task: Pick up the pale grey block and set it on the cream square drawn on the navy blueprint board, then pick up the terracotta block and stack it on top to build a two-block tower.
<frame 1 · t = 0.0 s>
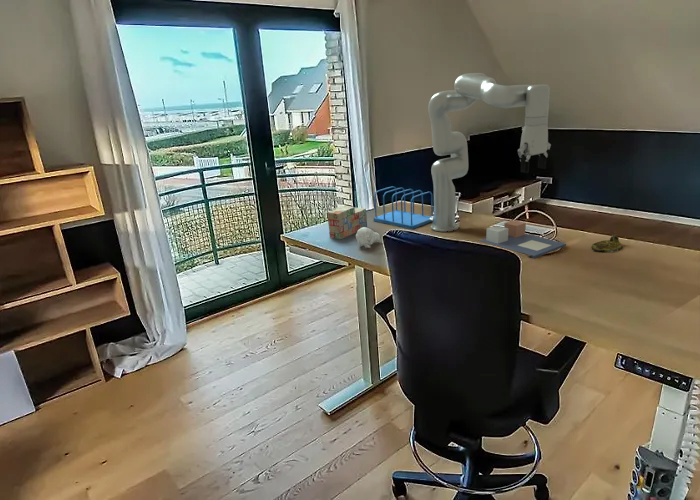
hand: (533, 170, 171), 31 cm above the table, tool pointing down, fingers open, 9 cm apart
blueprint board: (521, 244, 189), on the table
seal: (606, 248, 180), on the table
stack of blocks: (349, 233, 221), on the table
top block: (514, 234, 198), point 1 cm above the table, touching blueprint board
file sorter: (403, 221, 233), on the table
base block: (497, 240, 193), point 1 cm above the table, touching blueprint board
white animal figurine: (369, 245, 201), on the table
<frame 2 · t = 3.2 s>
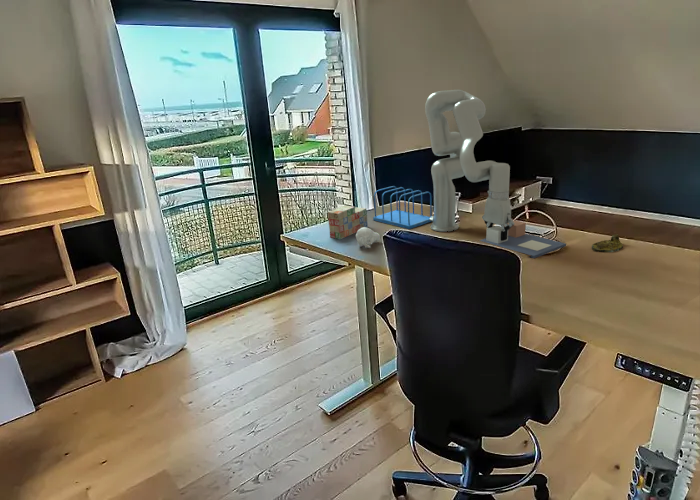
hand: (497, 237, 192), 2 cm above the table, tool pointing down, fingers closed on base block, 6 cm apart
base block: (497, 240, 193), point 1 cm above the table, touching blueprint board, gripper
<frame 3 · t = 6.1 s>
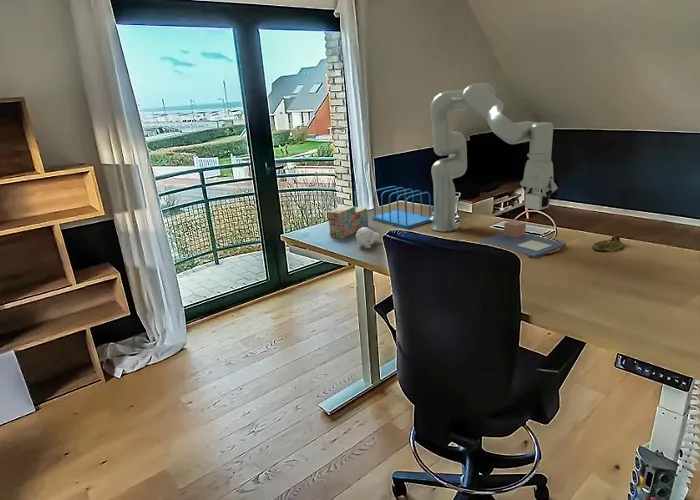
hand: (537, 204, 179), 17 cm above the table, tool pointing down, fingers closed on base block, 6 cm apart
base block: (536, 207, 179), point 16 cm above the table, touching gripper
when the fingers open (4 cm above the table, at t = 9.0 s): base block drops 1 cm, resting on blueprint board.
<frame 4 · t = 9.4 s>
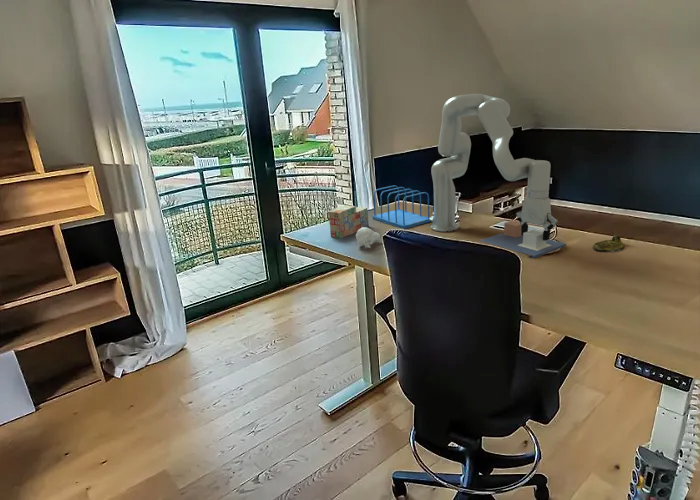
hand: (534, 237, 183), 4 cm above the table, tool pointing down, fingers open, 9 cm apart
base block: (534, 245, 184), point 1 cm above the table, touching blueprint board
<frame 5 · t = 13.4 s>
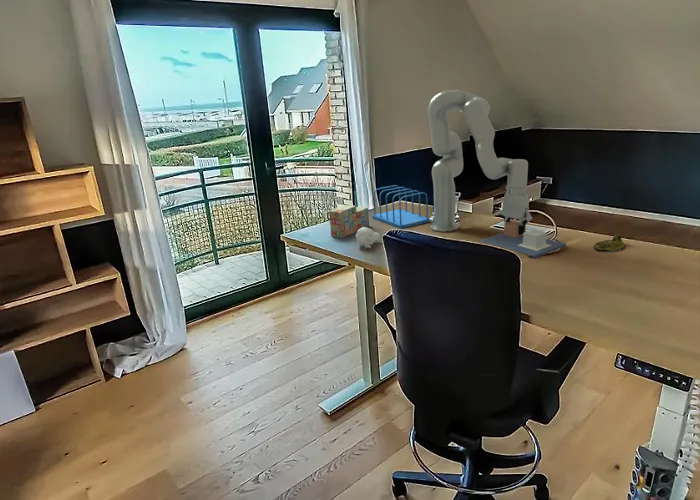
hand: (514, 232, 198), 2 cm above the table, tool pointing down, fingers closed on top block, 6 cm apart
top block: (514, 234, 198), point 1 cm above the table, touching blueprint board, gripper
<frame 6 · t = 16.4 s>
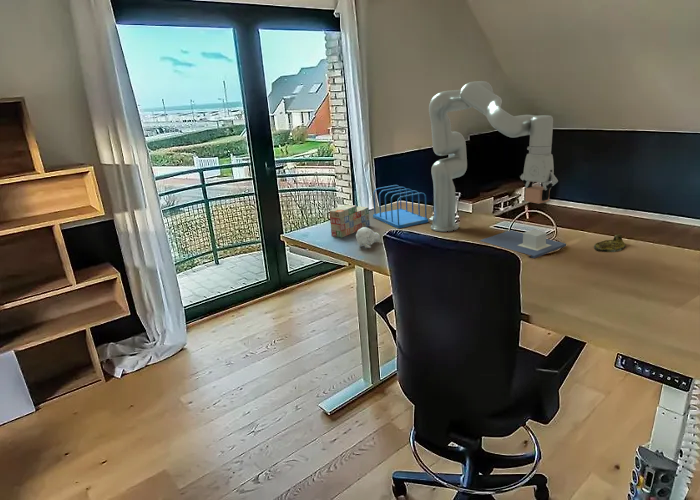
hand: (537, 198, 178), 20 cm above the table, tool pointing down, fingers closed on top block, 6 cm apart
top block: (537, 201, 179), point 19 cm above the table, touching gripper
when the fingers open (8 cm above the table, at t = 19.6 s): top block drops 1 cm, resting on base block.
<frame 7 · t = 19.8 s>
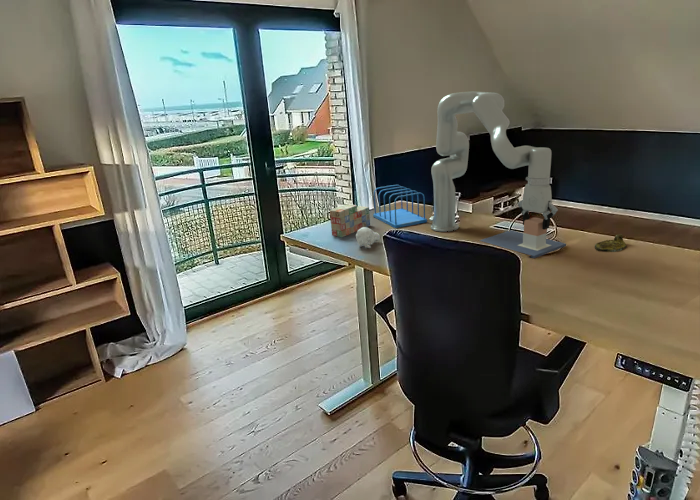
hand: (535, 226, 182), 9 cm above the table, tool pointing down, fingers open, 8 cm apart
top block: (535, 232, 183), point 6 cm above the table, touching base block
base block: (534, 245, 184), point 1 cm above the table, touching blueprint board, top block
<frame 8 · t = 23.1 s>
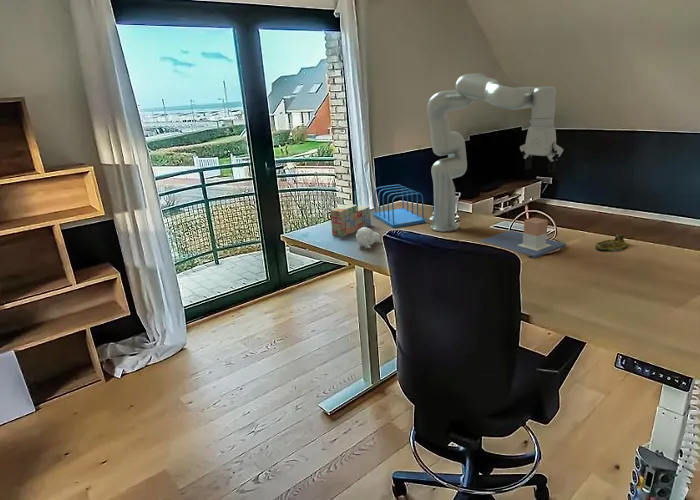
hand: (539, 170, 175), 30 cm above the table, tool pointing down, fingers open, 9 cm apart
at the end: base block 0.1 cm from the target spot on the blueprint board, point 1.1 cm above the blueprint board's base; top block 0.1 cm off-centre on the base block, point 5.0 cm above the base block's base; top block tilted 0° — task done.
